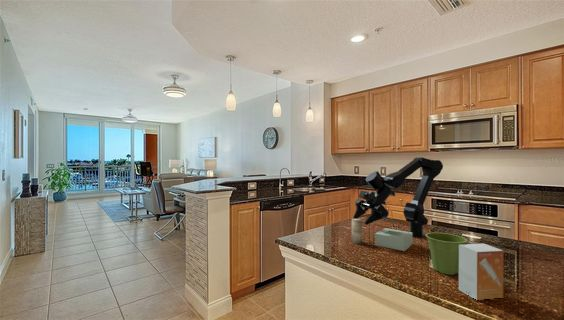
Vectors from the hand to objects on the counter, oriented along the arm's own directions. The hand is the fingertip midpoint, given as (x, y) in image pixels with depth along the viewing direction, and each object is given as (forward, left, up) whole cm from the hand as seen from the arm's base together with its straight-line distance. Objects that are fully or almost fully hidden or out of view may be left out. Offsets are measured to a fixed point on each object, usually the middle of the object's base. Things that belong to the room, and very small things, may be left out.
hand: (359, 221), depth 120 cm
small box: (+23, +45, -9) cm, 52 cm away
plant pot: (+11, +35, -9) cm, 38 cm away
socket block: (-6, +13, -9) cm, 17 cm away
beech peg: (+1, -1, -9) cm, 9 cm away
